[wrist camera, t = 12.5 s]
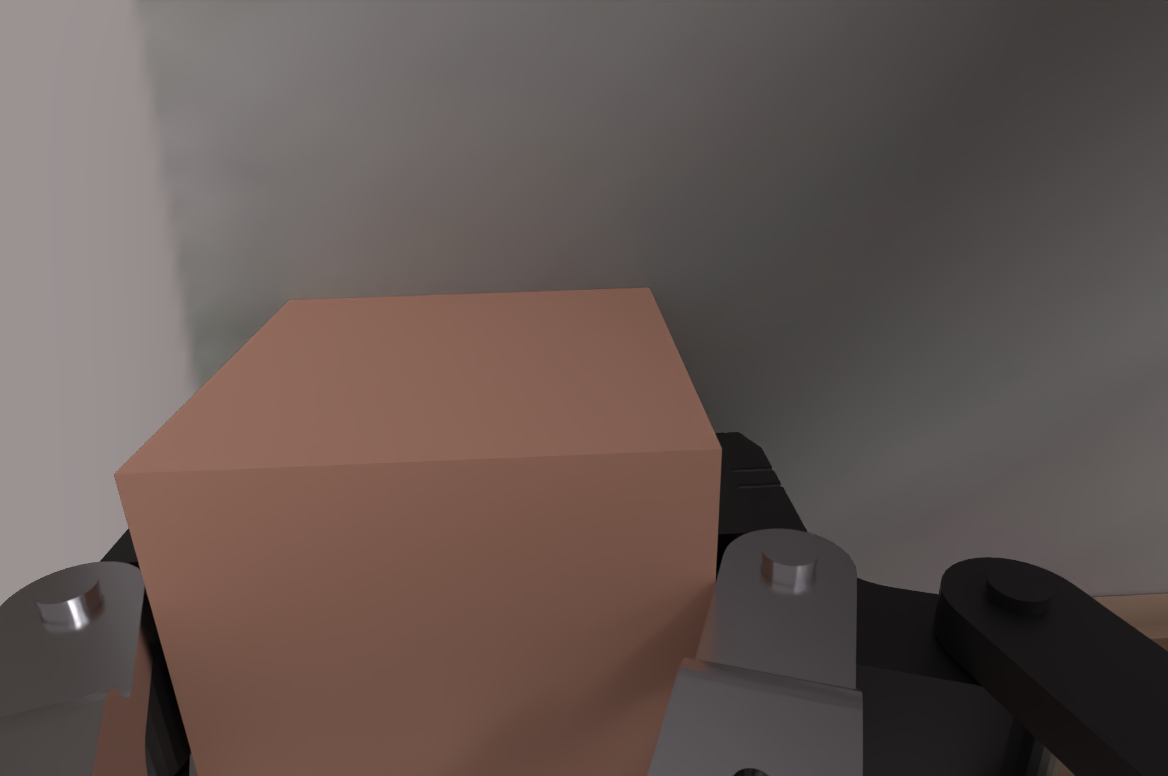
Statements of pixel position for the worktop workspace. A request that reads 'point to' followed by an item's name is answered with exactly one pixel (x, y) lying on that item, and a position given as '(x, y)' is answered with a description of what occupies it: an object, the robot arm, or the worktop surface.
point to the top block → (432, 538)
